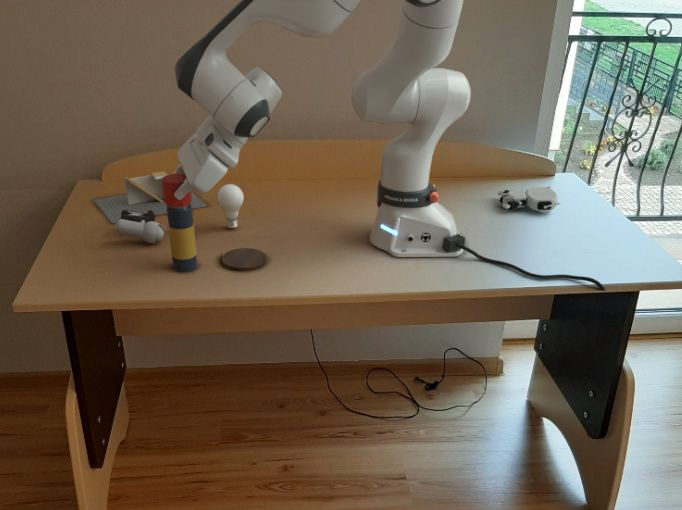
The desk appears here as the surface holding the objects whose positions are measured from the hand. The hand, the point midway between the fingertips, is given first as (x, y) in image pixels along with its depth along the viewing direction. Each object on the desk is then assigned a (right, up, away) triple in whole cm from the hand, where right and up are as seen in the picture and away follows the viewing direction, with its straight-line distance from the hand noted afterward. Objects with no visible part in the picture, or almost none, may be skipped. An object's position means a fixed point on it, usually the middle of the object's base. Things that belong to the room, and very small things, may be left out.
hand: (174, 191), depth 142 cm
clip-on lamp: (-9, -6, +22) cm, 25 cm away
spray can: (0, -14, +10) cm, 17 cm away
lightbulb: (+8, -3, +27) cm, 29 cm away
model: (-16, +6, +40) cm, 43 cm away
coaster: (+13, -13, +13) cm, 22 cm away
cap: (+1, -2, +2) cm, 3 cm away
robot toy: (+84, +5, +44) cm, 95 cm away
